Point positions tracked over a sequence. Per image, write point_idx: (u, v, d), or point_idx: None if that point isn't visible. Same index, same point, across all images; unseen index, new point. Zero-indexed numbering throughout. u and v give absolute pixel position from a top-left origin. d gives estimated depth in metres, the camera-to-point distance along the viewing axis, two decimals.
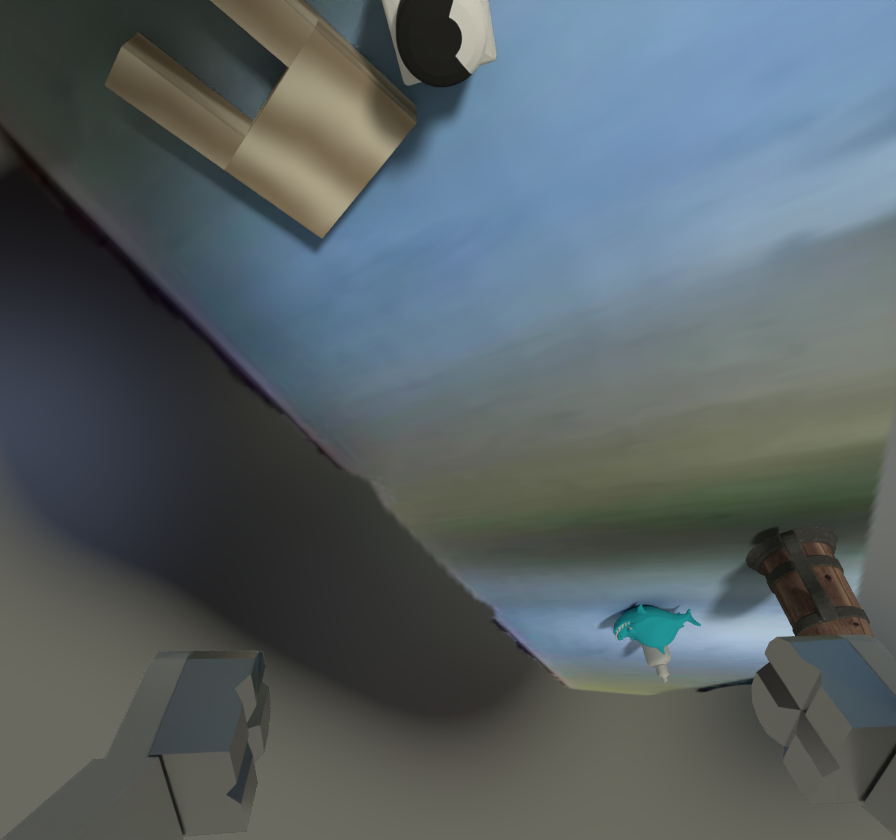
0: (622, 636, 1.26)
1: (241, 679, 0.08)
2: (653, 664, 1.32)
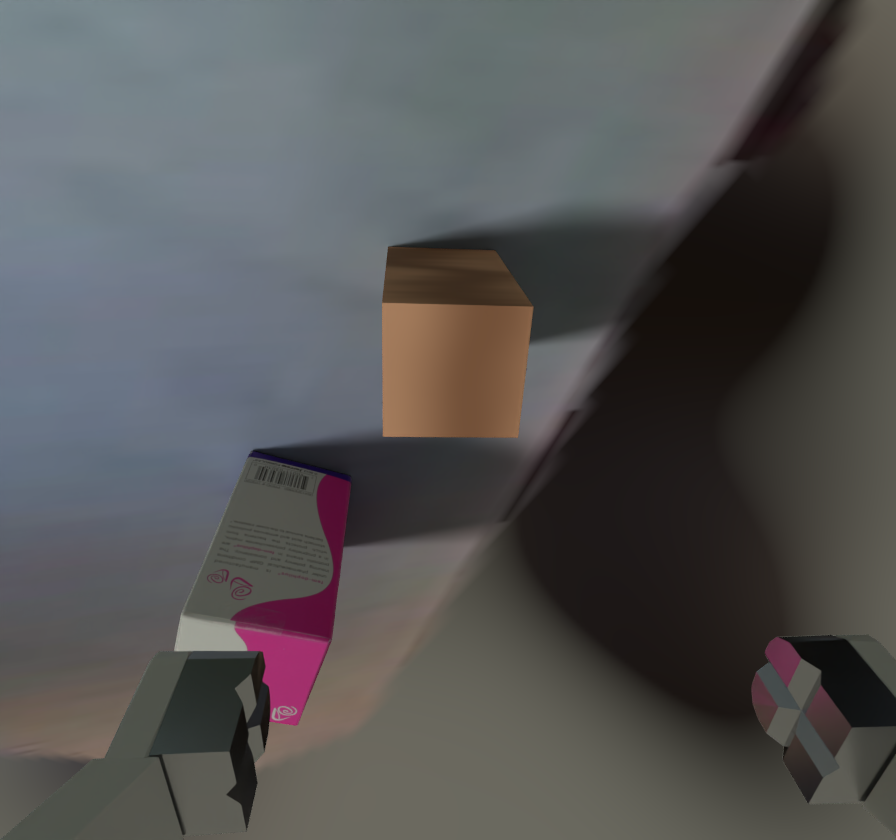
0: None
1: (241, 679, 0.08)
2: None
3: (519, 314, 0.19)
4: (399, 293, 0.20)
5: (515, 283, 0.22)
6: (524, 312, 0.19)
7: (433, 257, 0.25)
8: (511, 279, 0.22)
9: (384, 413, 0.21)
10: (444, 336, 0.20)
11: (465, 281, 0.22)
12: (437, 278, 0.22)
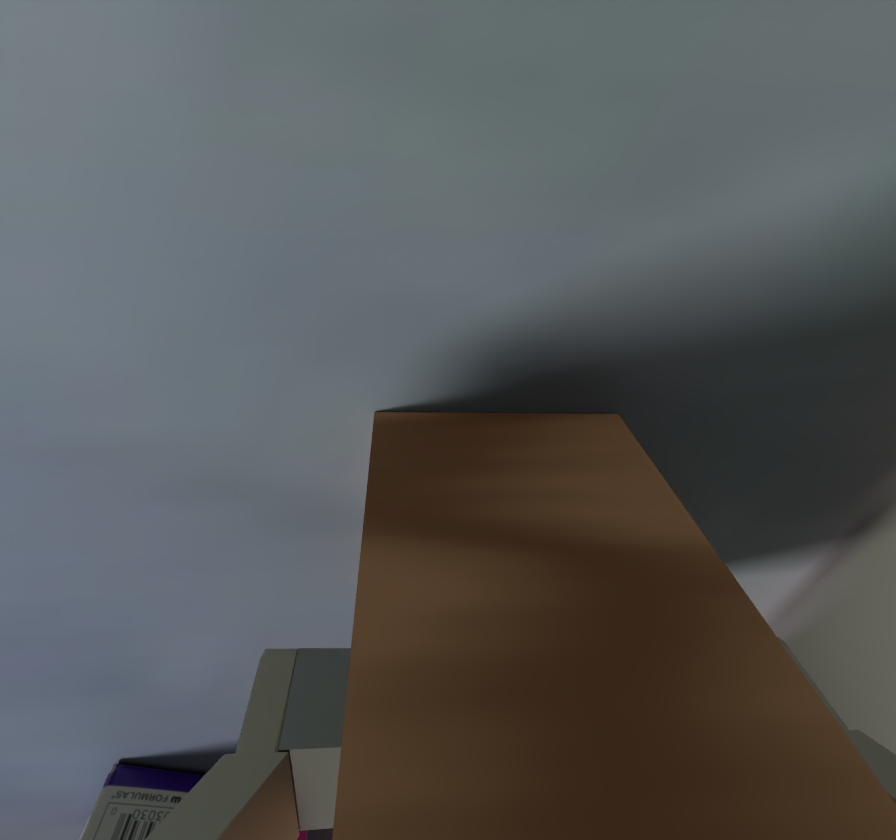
0: None
1: None
2: None
3: None
4: None
5: (781, 653, 0.07)
6: None
7: (486, 465, 0.10)
8: (750, 614, 0.07)
9: None
10: None
11: (619, 652, 0.07)
12: (523, 631, 0.07)
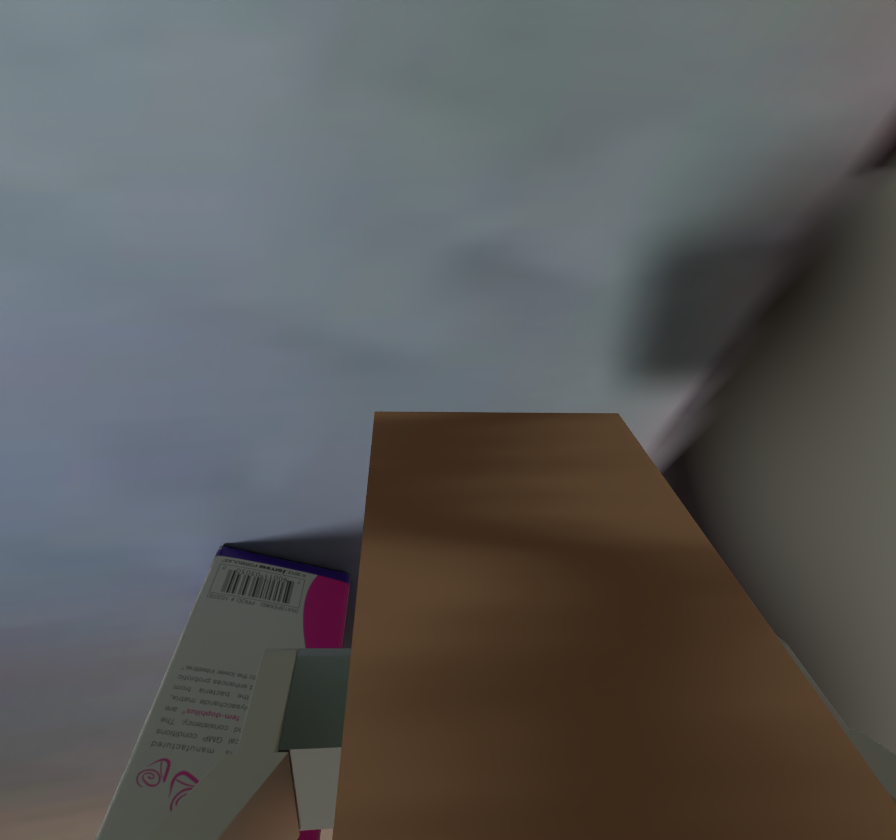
0: None
1: None
2: None
3: None
4: None
5: (781, 653, 0.07)
6: None
7: (486, 464, 0.10)
8: (750, 614, 0.07)
9: None
10: None
11: (618, 651, 0.07)
12: (523, 630, 0.07)
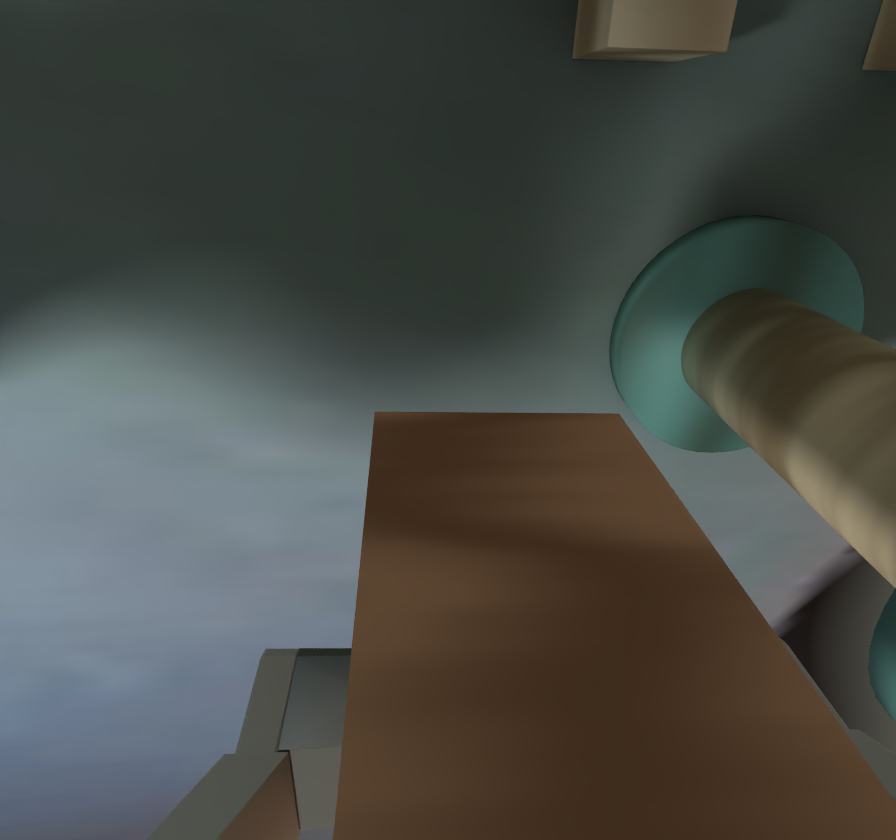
0: None
1: None
2: None
3: None
4: None
5: (782, 654, 0.07)
6: None
7: (487, 465, 0.10)
8: (751, 615, 0.07)
9: None
10: None
11: (620, 652, 0.07)
12: (524, 632, 0.07)
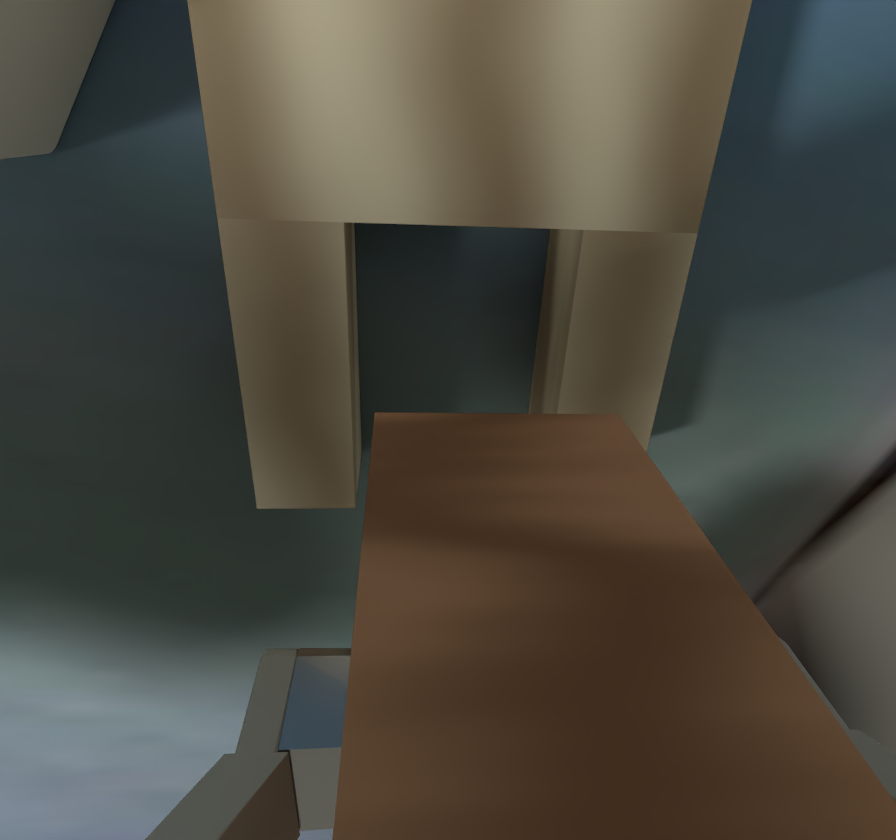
0: None
1: None
2: None
3: None
4: None
5: (784, 656, 0.07)
6: None
7: (487, 466, 0.10)
8: (752, 617, 0.07)
9: None
10: None
11: (620, 654, 0.07)
12: (524, 633, 0.07)
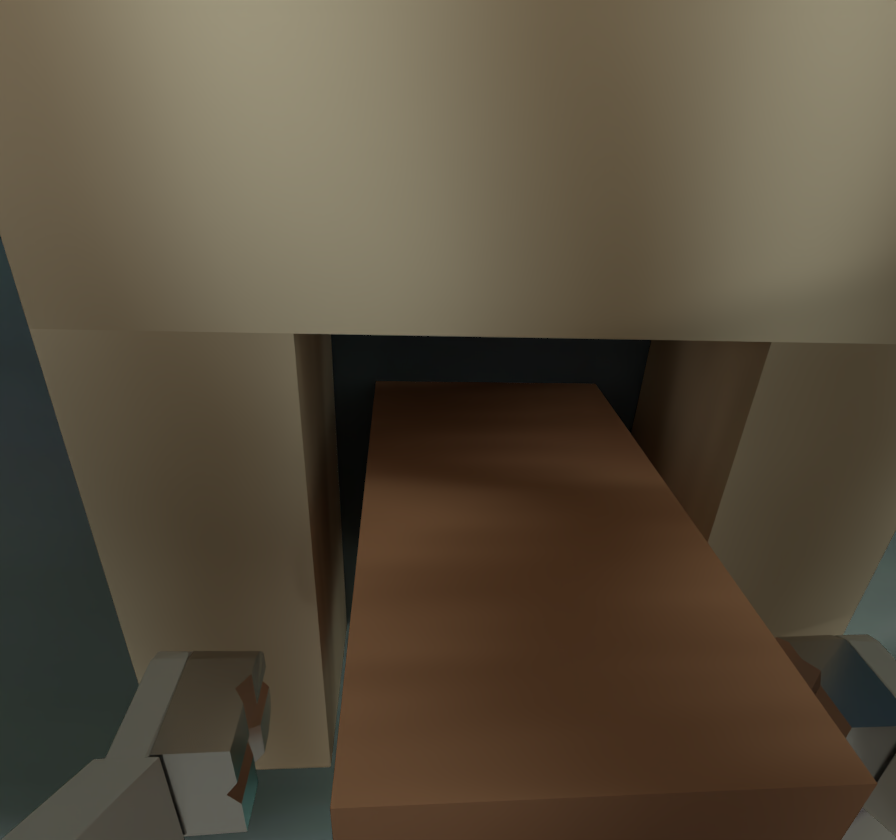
0: None
1: (241, 679, 0.08)
2: None
3: (822, 803, 0.05)
4: (396, 683, 0.06)
5: (716, 563, 0.08)
6: (841, 798, 0.05)
7: (475, 423, 0.11)
8: (693, 536, 0.08)
9: None
10: None
11: (580, 561, 0.08)
12: (501, 546, 0.08)
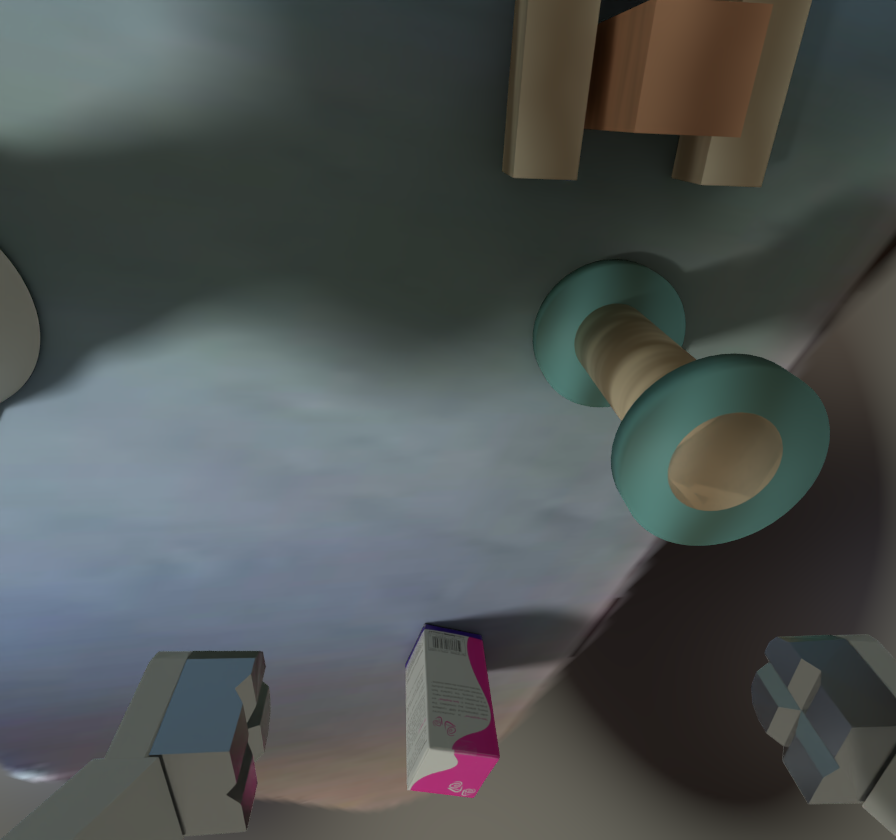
0: None
1: (241, 679, 0.08)
2: None
3: (761, 11, 0.24)
4: None
5: None
6: (765, 9, 0.24)
7: None
8: None
9: (639, 108, 0.26)
10: (699, 31, 0.24)
11: None
12: None
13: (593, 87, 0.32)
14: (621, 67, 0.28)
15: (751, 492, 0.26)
